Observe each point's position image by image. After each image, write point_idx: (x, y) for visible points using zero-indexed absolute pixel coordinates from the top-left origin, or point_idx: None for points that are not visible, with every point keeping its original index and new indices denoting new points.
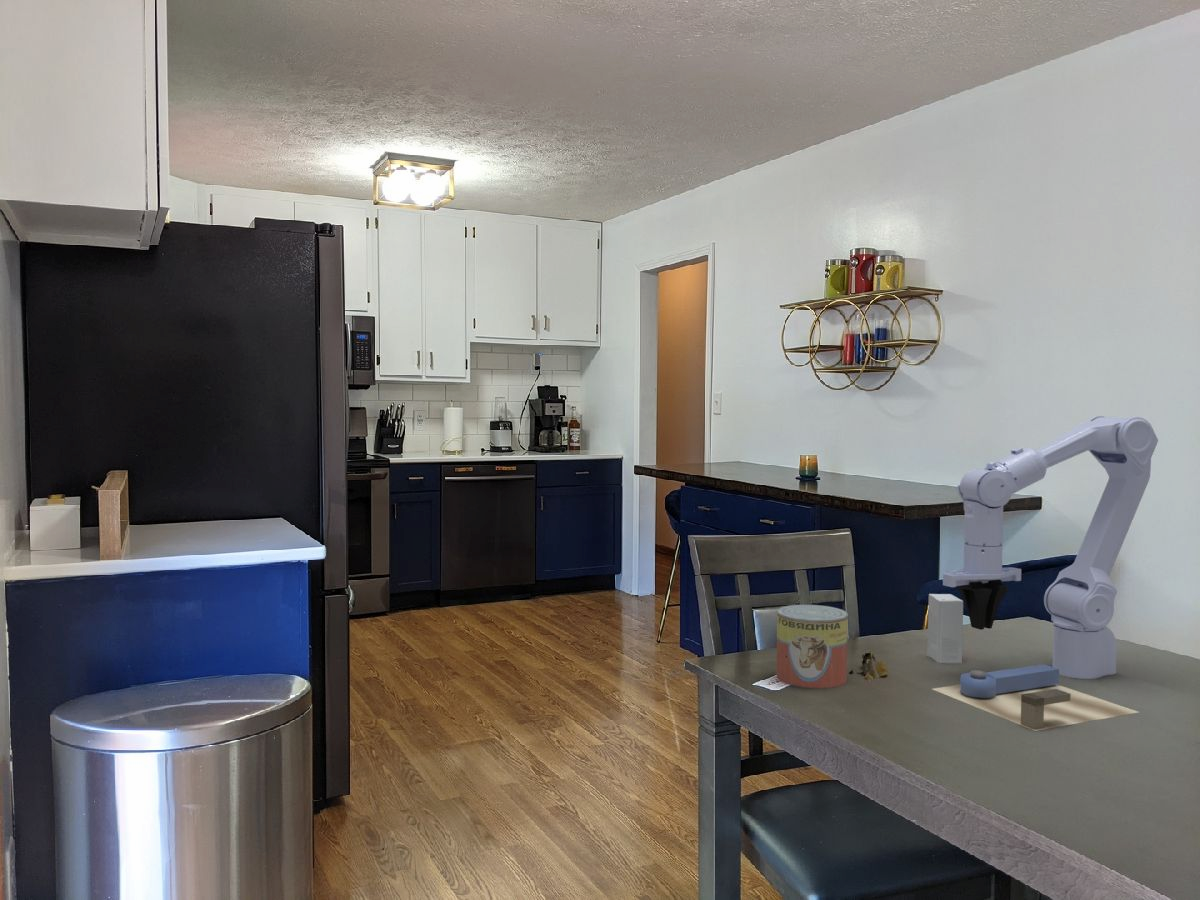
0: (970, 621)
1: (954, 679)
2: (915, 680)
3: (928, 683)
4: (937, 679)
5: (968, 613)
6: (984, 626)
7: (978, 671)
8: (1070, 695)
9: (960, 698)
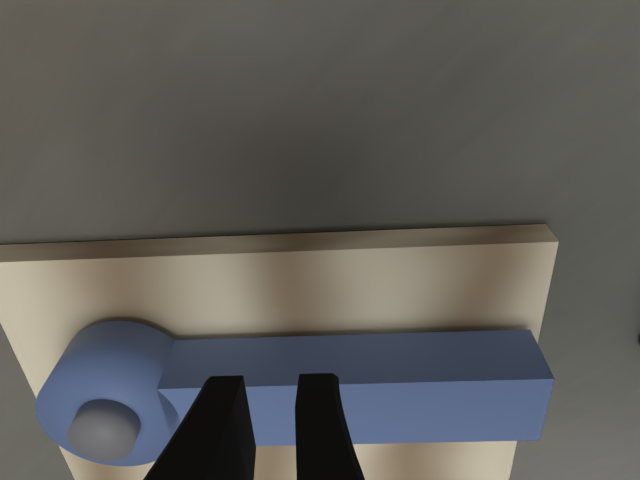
0: (189, 411)
1: (240, 72)
2: (13, 12)
3: (63, 84)
4: (148, 39)
5: (151, 470)
6: (252, 475)
7: (106, 436)
8: (451, 451)
9: (43, 374)
